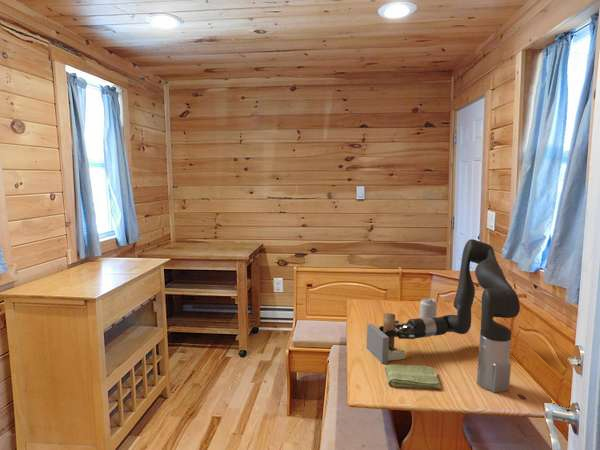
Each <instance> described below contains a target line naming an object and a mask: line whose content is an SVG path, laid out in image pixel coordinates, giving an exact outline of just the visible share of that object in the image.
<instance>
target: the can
mask: <svg viewBox="0 0 600 450" xmlns="http://www.w3.org/2000/svg"><path fill="white" fill-rule="evenodd" d="M437 305H438V303H437V301H436V299H435V298H430V297H424V298H421V301H420V302H419V317H418V318H435V317H437V309H438V306H437Z"/></svg>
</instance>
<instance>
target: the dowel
mask: <svg viewBox="0 0 600 450" xmlns="http://www.w3.org/2000/svg"><path fill="white" fill-rule="evenodd" d="M395 321H396V314H394V313H390V312H387V313H386V312H385V313H383V325H382V326H383V333H384V334H385V331H390V330H394V331H395ZM395 338H396V337H395V336H392V337H389V349H390V350H391V351H395Z"/></svg>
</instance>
